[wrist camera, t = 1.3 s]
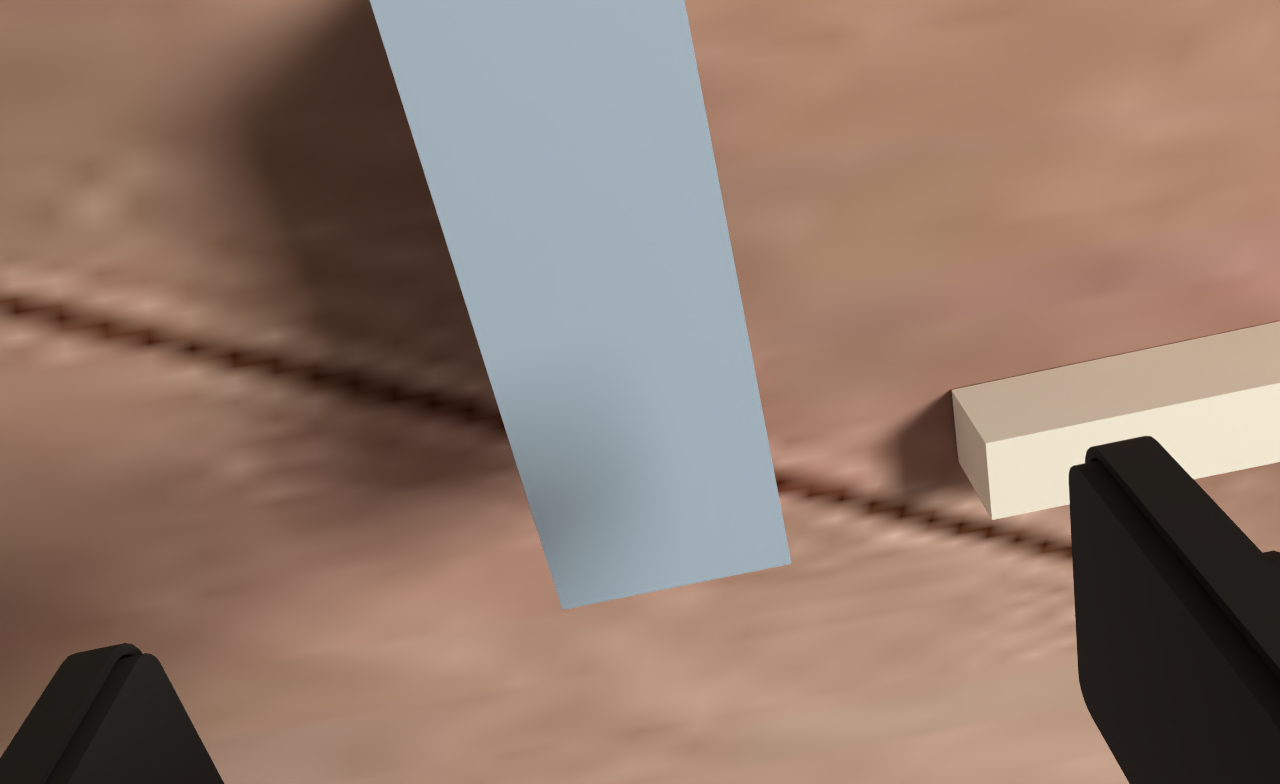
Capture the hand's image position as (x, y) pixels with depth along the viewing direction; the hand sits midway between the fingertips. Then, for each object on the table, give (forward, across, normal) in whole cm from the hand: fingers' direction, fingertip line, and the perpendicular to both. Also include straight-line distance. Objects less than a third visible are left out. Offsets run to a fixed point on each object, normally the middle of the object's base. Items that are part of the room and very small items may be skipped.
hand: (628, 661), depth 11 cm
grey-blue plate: (+18, 0, -1) cm, 19 cm away
